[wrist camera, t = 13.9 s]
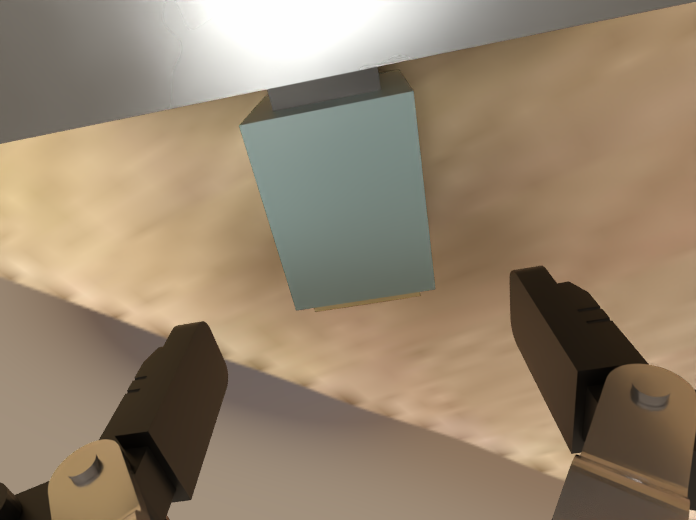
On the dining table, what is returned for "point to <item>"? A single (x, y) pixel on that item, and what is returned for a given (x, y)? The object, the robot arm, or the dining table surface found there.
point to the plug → (343, 188)
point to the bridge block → (234, 47)
